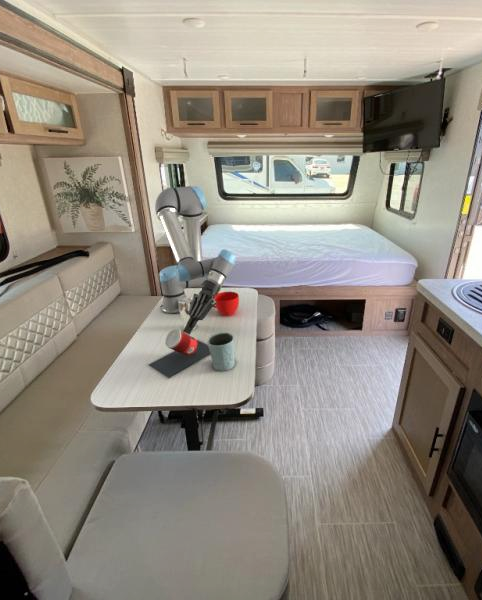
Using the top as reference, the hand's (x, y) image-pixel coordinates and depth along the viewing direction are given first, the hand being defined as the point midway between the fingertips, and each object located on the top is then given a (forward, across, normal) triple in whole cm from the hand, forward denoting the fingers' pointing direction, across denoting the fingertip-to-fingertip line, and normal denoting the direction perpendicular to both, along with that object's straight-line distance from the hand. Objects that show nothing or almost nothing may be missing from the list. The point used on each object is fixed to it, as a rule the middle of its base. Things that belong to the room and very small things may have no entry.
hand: (186, 333), depth 132 cm
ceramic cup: (-19, -19, +33) cm, 42 cm away
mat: (+9, 0, +6) cm, 11 cm away
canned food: (+4, 0, +6) cm, 8 cm away
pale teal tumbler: (+5, +17, +11) cm, 21 cm away
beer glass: (-3, -20, +18) cm, 27 cm away
